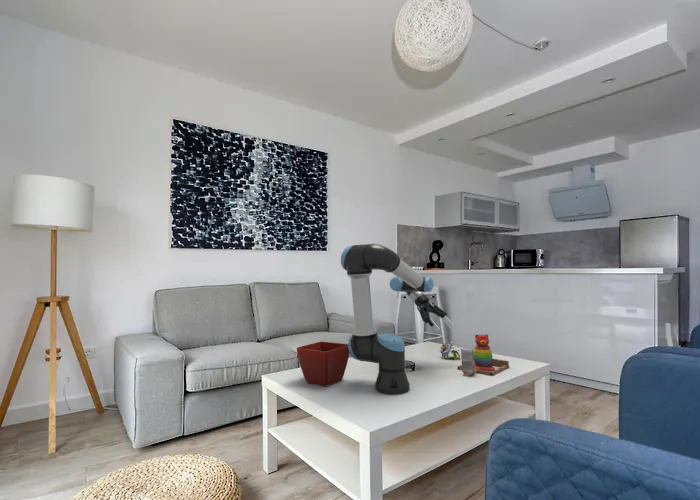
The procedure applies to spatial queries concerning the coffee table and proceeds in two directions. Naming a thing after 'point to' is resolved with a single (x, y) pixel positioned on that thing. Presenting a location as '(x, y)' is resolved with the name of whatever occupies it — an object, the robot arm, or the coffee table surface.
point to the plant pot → (323, 362)
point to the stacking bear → (483, 354)
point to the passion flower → (449, 350)
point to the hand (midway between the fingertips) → (445, 328)
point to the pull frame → (469, 362)
